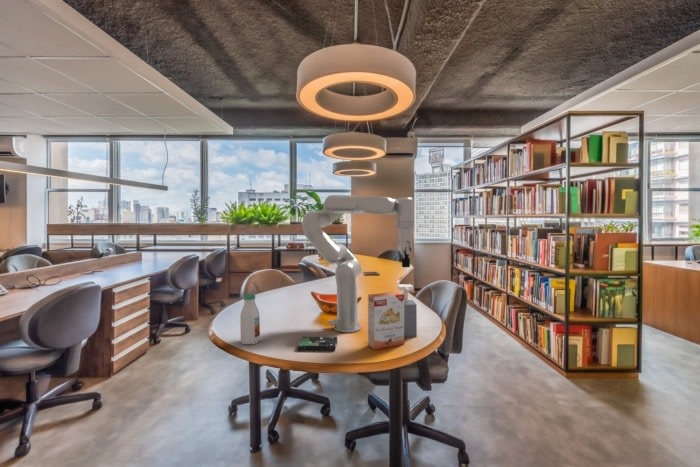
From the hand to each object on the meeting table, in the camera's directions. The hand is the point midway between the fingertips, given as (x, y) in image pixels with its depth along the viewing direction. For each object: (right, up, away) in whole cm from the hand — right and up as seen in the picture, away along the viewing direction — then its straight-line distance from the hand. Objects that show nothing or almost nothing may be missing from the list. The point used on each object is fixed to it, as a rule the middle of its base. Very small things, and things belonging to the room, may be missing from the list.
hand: (405, 266), depth 139 cm
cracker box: (-10, -31, -12) cm, 34 cm away
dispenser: (0, -30, +1) cm, 30 cm away
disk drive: (-38, -31, -12) cm, 51 cm away
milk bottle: (-67, -31, -7) cm, 74 cm away
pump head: (0, -21, -1) cm, 21 cm away
